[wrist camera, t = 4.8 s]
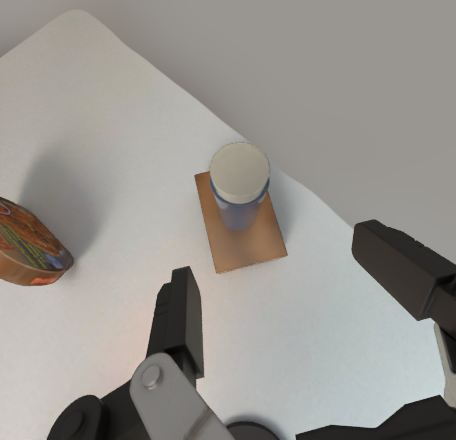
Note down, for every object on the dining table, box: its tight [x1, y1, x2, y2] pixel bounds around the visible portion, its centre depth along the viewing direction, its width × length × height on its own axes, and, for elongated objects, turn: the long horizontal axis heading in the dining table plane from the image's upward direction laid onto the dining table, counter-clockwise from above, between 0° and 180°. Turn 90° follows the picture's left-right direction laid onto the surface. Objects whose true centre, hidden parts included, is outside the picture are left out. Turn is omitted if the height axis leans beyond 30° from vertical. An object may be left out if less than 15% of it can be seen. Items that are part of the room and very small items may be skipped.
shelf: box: [194, 171, 288, 274], centre depth 27 cm, size 8×12×5 cm, turn 14°
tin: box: [0, 197, 73, 286], centre depth 25 cm, size 15×3×8 cm, turn 49°
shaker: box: [210, 142, 270, 231], centre depth 19 cm, size 4×4×10 cm
